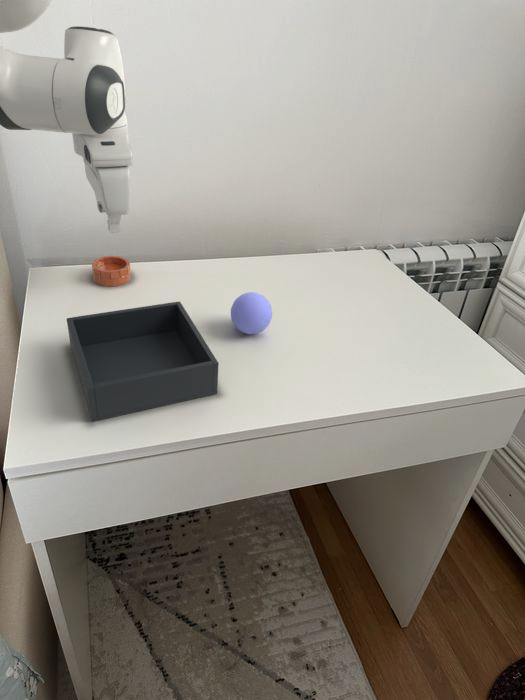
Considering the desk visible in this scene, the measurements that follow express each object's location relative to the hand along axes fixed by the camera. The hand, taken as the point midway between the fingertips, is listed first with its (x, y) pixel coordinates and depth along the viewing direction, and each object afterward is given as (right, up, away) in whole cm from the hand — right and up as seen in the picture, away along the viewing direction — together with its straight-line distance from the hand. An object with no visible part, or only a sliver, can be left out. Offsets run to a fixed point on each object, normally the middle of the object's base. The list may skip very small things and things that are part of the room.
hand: (108, 220), depth 96 cm
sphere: (+25, -20, -4) cm, 33 cm away
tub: (+9, -26, -16) cm, 32 cm away
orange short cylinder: (-1, -9, +7) cm, 12 cm away
